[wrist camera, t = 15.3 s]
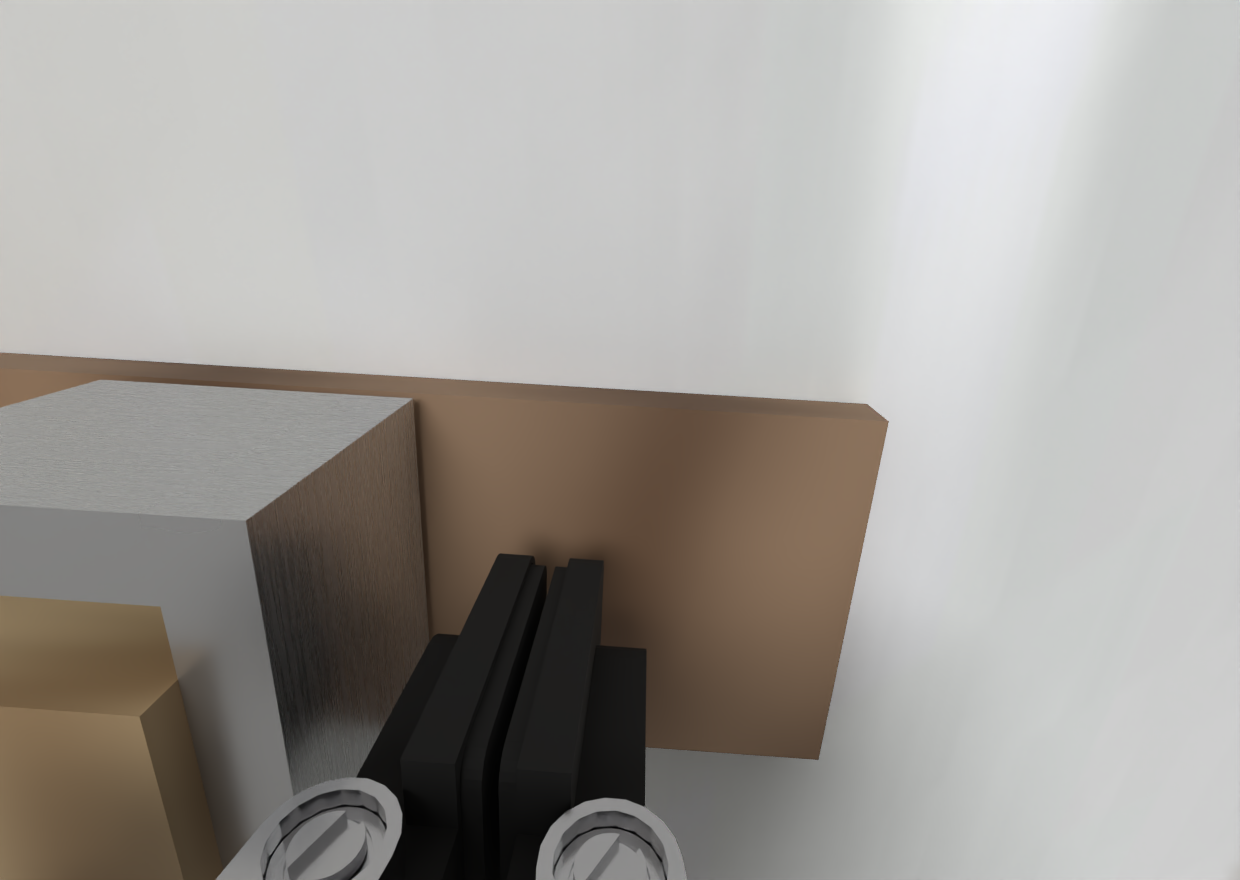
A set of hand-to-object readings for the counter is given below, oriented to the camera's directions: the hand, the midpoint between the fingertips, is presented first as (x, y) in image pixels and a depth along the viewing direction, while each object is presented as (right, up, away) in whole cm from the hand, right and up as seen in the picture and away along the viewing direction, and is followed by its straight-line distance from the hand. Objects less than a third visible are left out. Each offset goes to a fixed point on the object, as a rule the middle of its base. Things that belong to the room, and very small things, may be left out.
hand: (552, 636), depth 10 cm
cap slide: (-5, +1, +1) cm, 5 cm away
